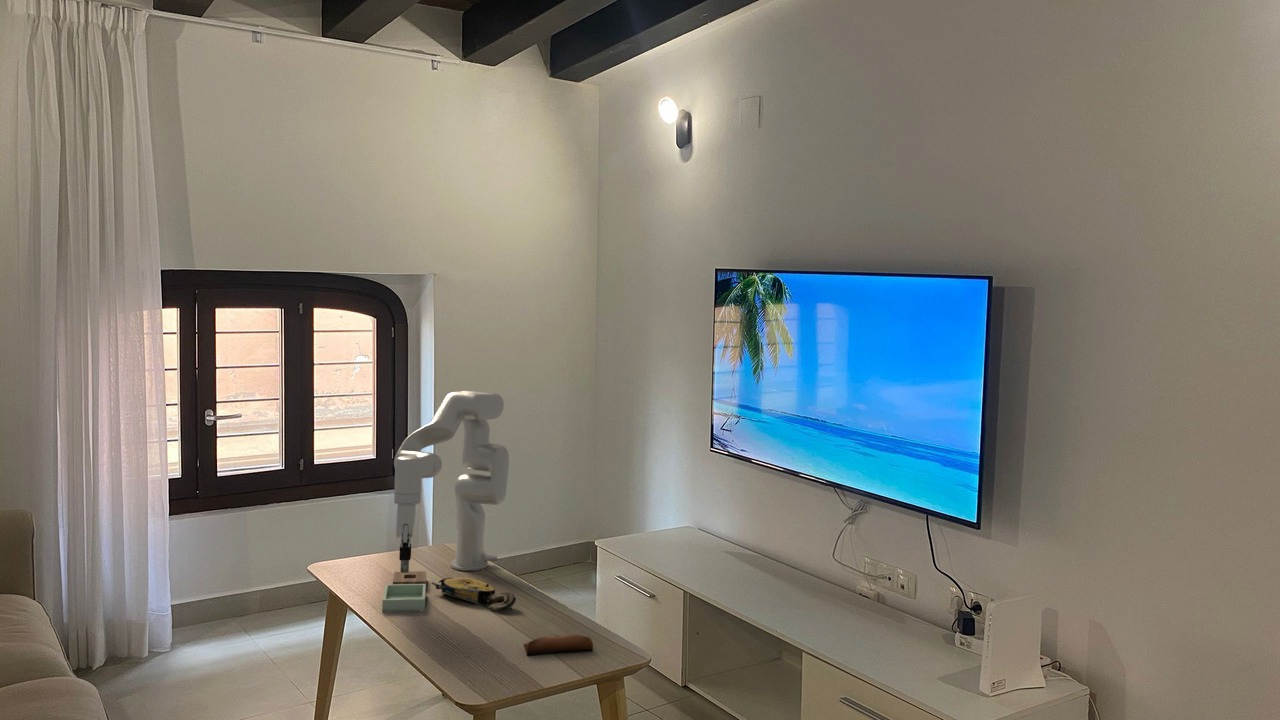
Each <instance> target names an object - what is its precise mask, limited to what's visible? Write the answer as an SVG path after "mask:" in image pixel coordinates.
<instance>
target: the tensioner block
mask: <svg viewBox="0 0 1280 720" xmlns="http://www.w3.org/2000/svg"><path fill="white" fill-rule="evenodd" d="M392 584H426V585H427V570H425V571H423V570H422V571H418V570H416V571H409V572H407V573H401V572H400V571H394V574H393V579H392Z"/></svg>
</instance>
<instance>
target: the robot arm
mask: <svg viewBox="0 0 1280 720" xmlns="http://www.w3.org/2000/svg"><path fill="white" fill-rule="evenodd" d="M504 403H505V402H504V399H503V397H502V396H501V395H500V394H499V393H495V392H494V393H493V392H486V391H477V390H474V391H473V390H460V391H452V392H449V393H448V394H447V395H445V397H444V399H443V400H442V401H441V403H440V405H439V406H438V408H437V410H436V412H435V414H434V415H433V417H432V419H431V421H429V423H427V424H425V425H424V426H421V427H420V428H418V429H417V430H415V431H413V432H411V434H410V435H408V436H407V437H406V438H405V439H404V440H403V442H402V443H401V445H400V447H399V448H398V449H397V452H396V455H395V456H394V459H393V466H394V467H393V468H394V469H395V470H394V491H393V492H394V495H393V497H394V498H393V503H394V504H395V505H397V508H396V524H395V526H396V527H395V528H396V529H395V537H396V539H398V538H400V543H399V556H398V557H399V561H401V560H409V561H411V557H412V543H411V540H412V538H413V536H414V530H415V524H416V514H417V513H416V512H417V511H416V509H417V507H416V506H417V505H419V504H420V503H421V488H422V487H421V486H422V485H421V484H422V479H432V478H434V477H437V475H439V474H440V472H441V470H442V468H443V466H442V465H443V461H442V459H441V458H440V456H439V455H438V454H435V453H433V452H425V451H421V450H422V449H425V448H427V447H430V446H434V445H438V444H442V443H446V442H447V441H450V440H452V438H454V436H455V434H456V433H457V430H458V429H459V427H460V426H461V424H462V423H463V428H464V429H463V440H462V441H463V444H462V453H461V462H462V465H463V467H465V469H468V470H473V471H481V472H488V473H489V474H490V475H486V474H478V473H463V474H461V475H459V476H458V477H457V478H456V480H455V482H454V495H455V502H456V503H455V504H456V526H455V527H456V529H455V552H454V553H455V556H454V559H452V560H451V561H450V567H451V568H452V569H455V570H456V571H457V570H458V571H462V572H463V571H464V572H465V571H466V572H467V571H468V572H471V571H479V570H480V569H481V570H484V569H486V568H487V567H488V566H489V562H497V561H498V555H497V554H495V555H494V554H493V553H487V552H486V551H485V531H486V530H485V529H486V528H485V527H486V513H485V509H484V508H483V505H489V506H499V505H501V504H503V502H504V500H505V498H506V495H507V494H506V493H507V489H508V488H507V486H508V476H509V466H510V465H509V464H510V456H509V455H510V454H509V451H508V449H507V447H505V445H502V444H499V443H490V430H491V429H490V425H489V422H488V421H489V420H495V419H496V420H497V419H498V418H499V417H500V416H501V415H502V413H503V411H504V409H505V408H504V407H505V404H504ZM487 561H488V562H487ZM481 570H480V571H481Z"/></svg>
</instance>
